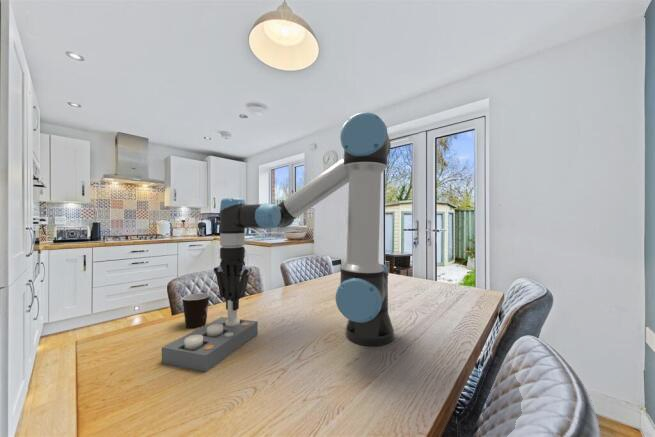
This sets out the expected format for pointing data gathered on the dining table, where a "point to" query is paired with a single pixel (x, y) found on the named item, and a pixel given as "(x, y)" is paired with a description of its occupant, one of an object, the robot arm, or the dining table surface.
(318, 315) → the dining table surface
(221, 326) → the button
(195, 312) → the coffee mug
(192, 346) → the button
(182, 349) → the button board
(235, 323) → the button
